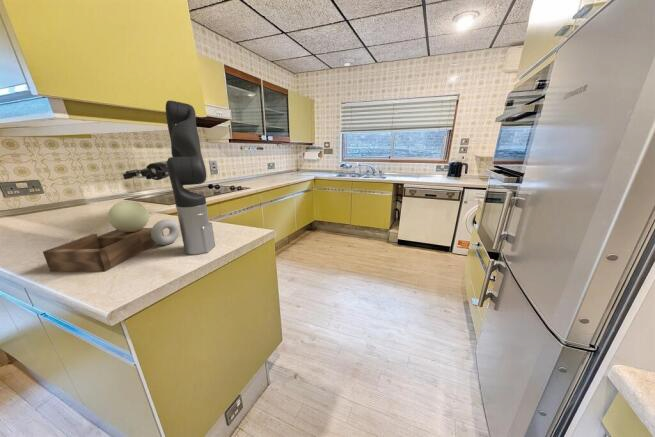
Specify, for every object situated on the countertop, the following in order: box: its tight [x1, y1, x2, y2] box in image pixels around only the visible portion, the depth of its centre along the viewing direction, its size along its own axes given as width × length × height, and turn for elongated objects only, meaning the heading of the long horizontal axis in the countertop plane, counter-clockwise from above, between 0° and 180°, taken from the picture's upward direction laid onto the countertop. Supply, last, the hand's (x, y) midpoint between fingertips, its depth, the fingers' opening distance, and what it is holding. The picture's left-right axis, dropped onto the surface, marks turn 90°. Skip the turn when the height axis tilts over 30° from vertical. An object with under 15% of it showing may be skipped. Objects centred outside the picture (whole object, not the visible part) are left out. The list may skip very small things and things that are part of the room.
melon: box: [107, 200, 150, 232], centre depth 87 cm, size 12×12×12 cm
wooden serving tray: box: [42, 227, 165, 272], centre depth 81 cm, size 17×26×6 cm, turn 0°
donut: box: [151, 219, 181, 246], centre depth 88 cm, size 10×4×10 cm, turn 155°
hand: (135, 176), depth 91 cm, fingers open, 8 cm apart
